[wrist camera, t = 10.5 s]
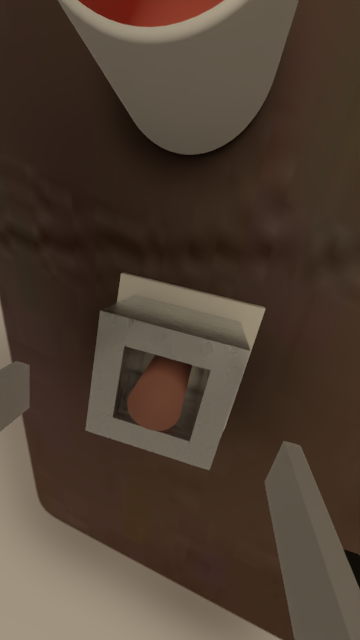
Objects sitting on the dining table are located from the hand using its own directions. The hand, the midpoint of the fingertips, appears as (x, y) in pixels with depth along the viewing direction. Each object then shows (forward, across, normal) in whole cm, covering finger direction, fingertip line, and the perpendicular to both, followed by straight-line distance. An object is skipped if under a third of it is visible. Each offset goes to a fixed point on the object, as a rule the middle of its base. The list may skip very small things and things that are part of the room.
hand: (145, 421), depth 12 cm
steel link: (+9, 0, -1) cm, 9 cm away
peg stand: (+10, 0, -1) cm, 10 cm away
